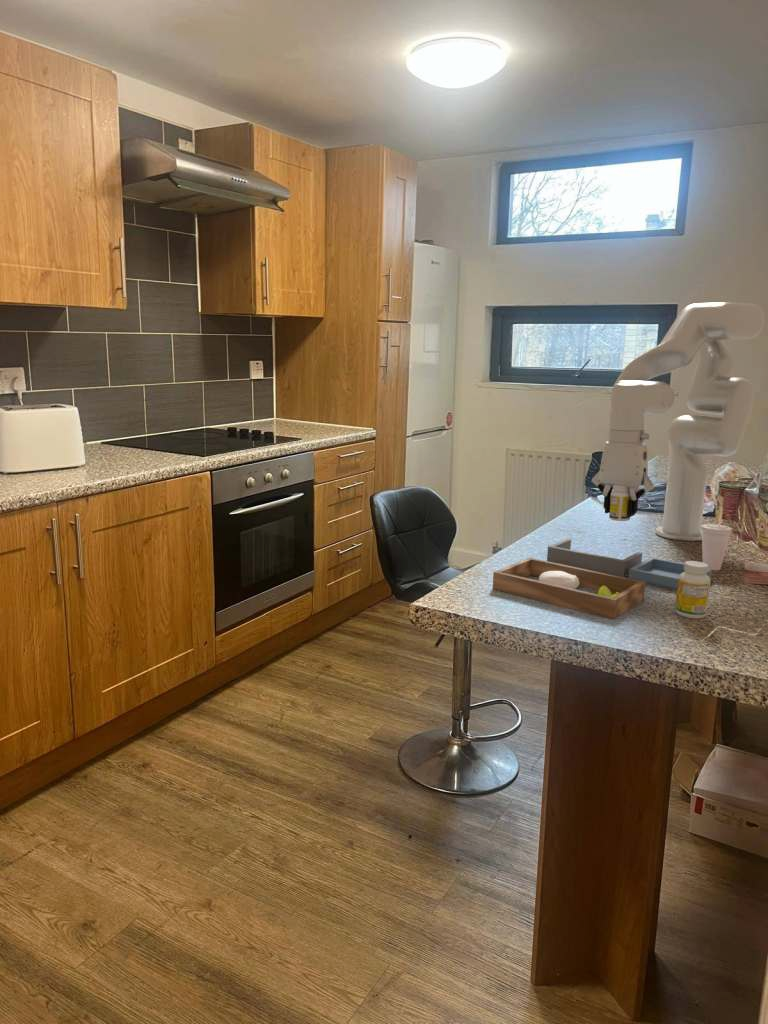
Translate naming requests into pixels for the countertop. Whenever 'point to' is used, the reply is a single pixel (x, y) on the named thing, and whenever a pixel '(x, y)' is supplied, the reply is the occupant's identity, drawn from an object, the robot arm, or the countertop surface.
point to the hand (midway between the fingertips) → (619, 513)
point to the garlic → (559, 579)
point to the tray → (659, 573)
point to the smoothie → (714, 543)
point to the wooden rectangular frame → (517, 584)
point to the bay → (591, 560)
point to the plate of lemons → (606, 592)
